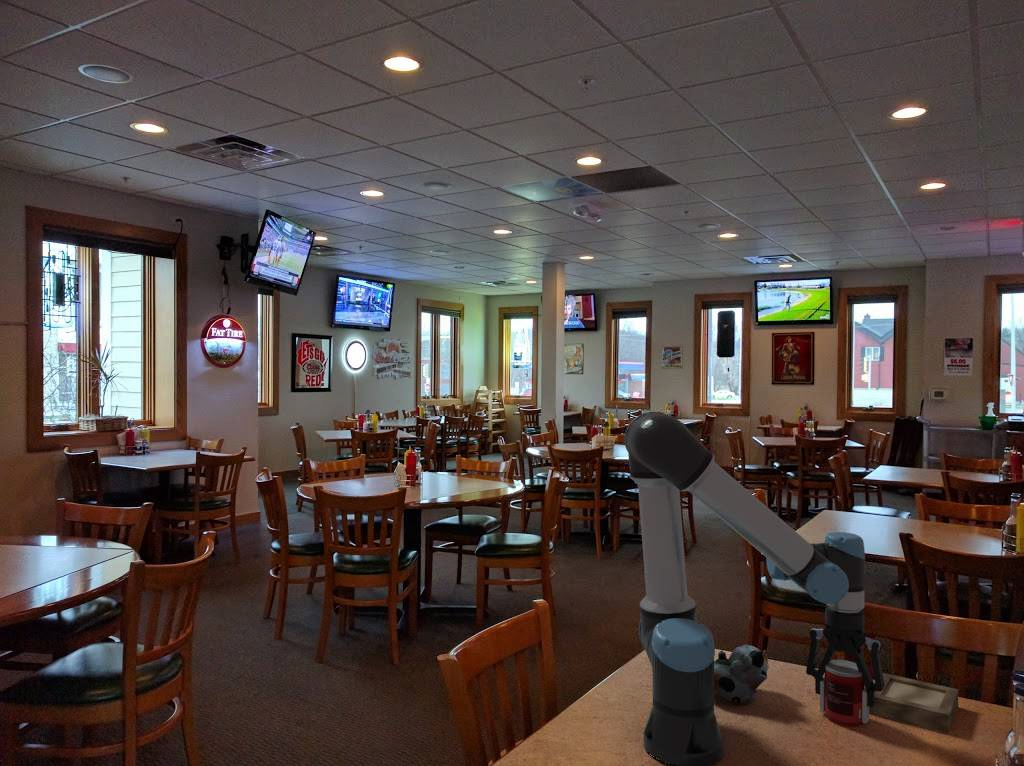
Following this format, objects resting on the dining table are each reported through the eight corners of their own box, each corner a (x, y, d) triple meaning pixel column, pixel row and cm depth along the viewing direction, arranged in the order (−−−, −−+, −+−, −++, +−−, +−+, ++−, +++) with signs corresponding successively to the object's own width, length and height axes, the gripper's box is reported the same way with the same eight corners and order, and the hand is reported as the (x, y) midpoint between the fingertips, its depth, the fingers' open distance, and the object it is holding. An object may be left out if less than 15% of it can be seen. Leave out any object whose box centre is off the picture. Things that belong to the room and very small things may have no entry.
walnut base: (868, 713, 158) (868, 695, 158) (882, 689, 170) (882, 672, 169) (949, 733, 149) (949, 715, 148) (958, 706, 160) (958, 689, 160)
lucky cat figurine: (711, 676, 177) (740, 626, 176) (755, 710, 169) (785, 658, 169) (689, 679, 165) (719, 625, 164) (735, 715, 157) (767, 659, 157)
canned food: (856, 710, 159) (856, 659, 159) (870, 728, 151) (870, 674, 151) (819, 709, 160) (819, 658, 160) (831, 726, 152) (831, 673, 152)
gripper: (902, 612, 152) (901, 722, 152) (799, 594, 164) (799, 696, 165) (895, 622, 146) (894, 736, 146) (789, 602, 158) (789, 708, 159)
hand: (844, 715), depth 155 cm, fingers closed on canned food, 8 cm apart
